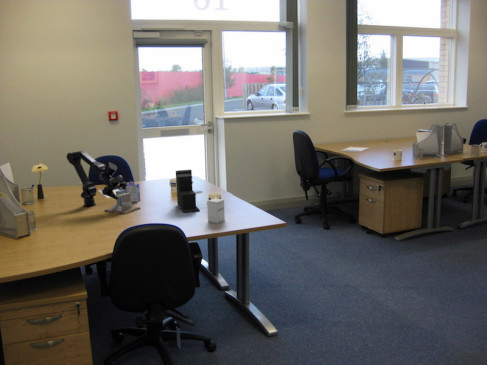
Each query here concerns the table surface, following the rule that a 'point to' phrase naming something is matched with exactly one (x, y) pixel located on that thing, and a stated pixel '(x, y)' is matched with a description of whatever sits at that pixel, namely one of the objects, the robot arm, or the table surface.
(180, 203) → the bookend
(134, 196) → the ink cartridge box
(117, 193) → the book
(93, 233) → the table surface
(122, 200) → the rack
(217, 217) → the supplement box
